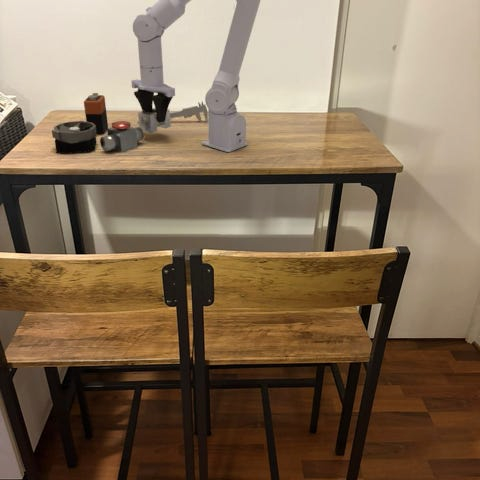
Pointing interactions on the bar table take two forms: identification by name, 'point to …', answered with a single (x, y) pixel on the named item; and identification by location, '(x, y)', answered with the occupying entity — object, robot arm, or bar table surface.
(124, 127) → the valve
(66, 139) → the cpu cooler
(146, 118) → the coupling
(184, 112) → the caliper
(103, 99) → the battery
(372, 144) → the bar table surface
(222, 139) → the robot arm
